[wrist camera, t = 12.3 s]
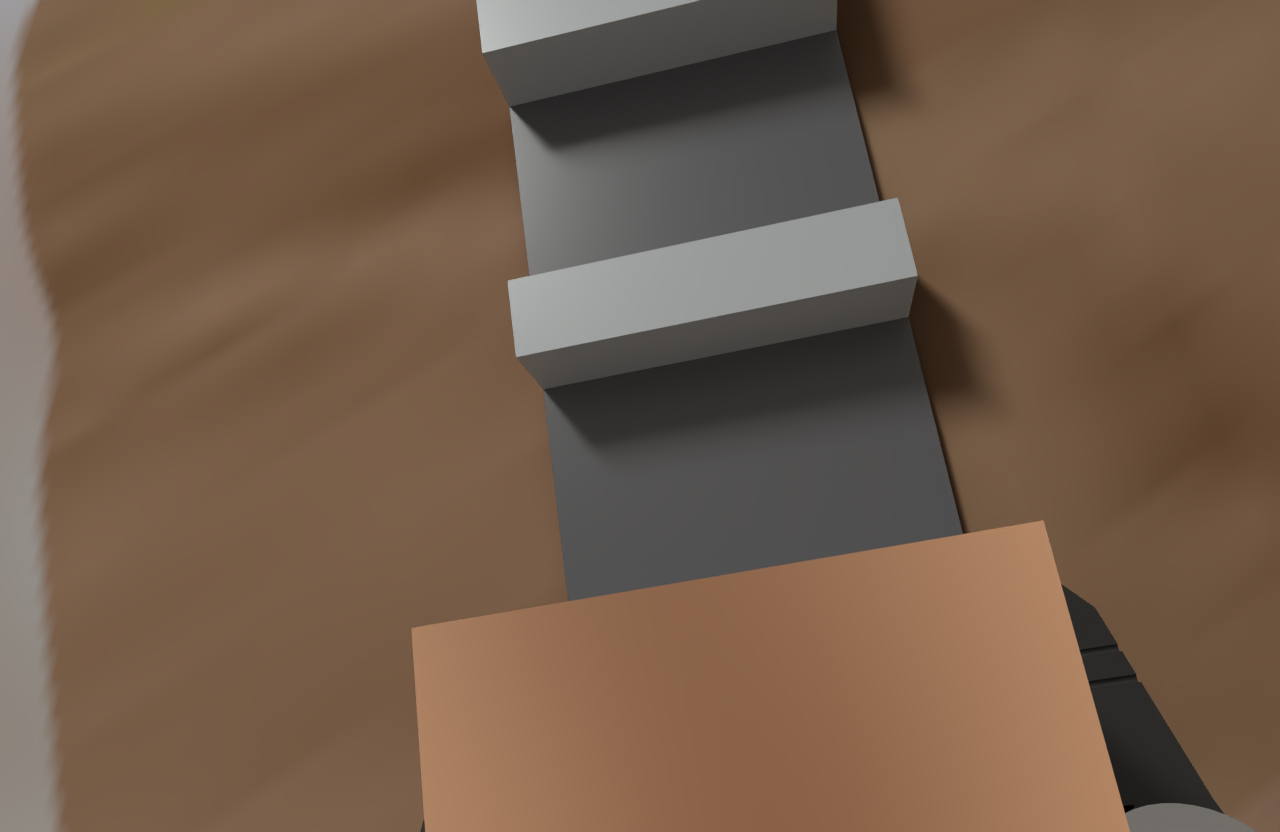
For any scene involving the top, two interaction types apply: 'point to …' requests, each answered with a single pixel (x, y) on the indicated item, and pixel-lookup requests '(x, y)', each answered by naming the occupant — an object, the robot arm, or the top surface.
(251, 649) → the top surface
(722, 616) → the block
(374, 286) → the top surface
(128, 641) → the top surface
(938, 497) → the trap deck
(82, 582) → the top surface
